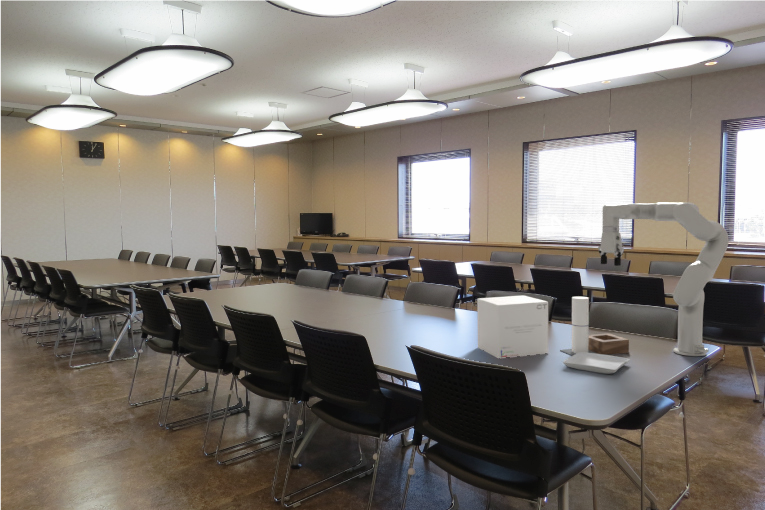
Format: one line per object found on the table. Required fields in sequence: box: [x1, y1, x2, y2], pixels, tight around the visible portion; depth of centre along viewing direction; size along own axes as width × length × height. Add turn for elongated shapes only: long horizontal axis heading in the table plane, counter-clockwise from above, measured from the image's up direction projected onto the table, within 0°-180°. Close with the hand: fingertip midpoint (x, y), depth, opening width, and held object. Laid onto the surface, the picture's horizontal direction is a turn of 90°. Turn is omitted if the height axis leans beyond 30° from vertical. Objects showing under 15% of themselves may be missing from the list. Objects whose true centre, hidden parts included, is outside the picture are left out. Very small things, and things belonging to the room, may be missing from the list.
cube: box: [476, 294, 549, 359], centre depth 246 cm, size 25×21×24 cm
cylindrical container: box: [571, 296, 590, 353], centre depth 238 cm, size 7×7×25 cm
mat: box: [559, 348, 598, 357], centre depth 239 cm, size 12×12×1 cm
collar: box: [588, 332, 630, 356], centre depth 243 cm, size 14×14×6 cm
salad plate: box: [562, 352, 631, 375], centre depth 217 cm, size 21×21×3 cm
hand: (610, 264), depth 256 cm, fingers open, 9 cm apart
